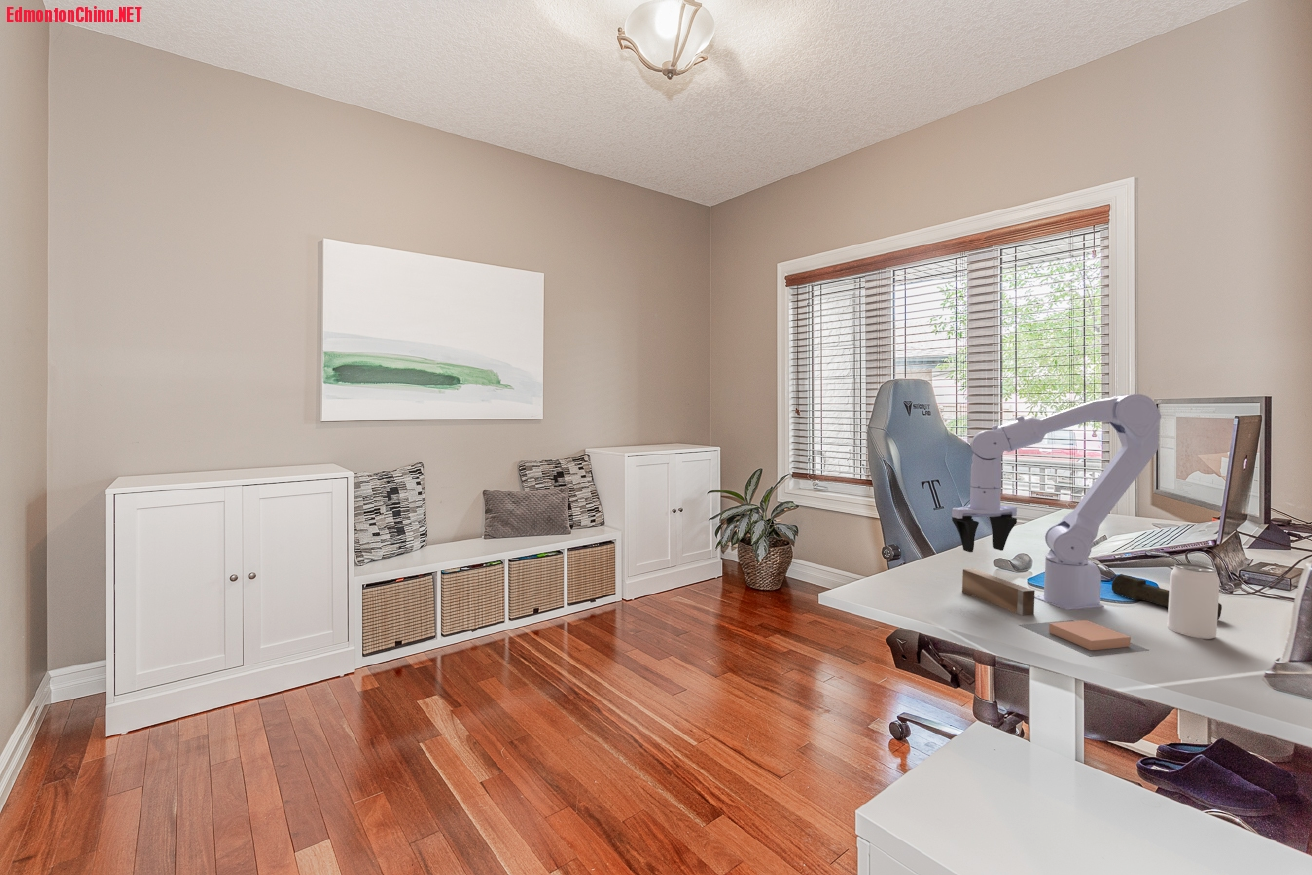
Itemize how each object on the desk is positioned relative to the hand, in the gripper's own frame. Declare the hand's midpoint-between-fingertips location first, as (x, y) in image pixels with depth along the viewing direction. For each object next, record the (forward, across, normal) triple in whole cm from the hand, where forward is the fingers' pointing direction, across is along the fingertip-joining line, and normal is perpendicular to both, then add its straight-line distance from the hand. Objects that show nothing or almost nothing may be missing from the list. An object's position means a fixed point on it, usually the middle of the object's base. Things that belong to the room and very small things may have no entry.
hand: (983, 550), depth 128 cm
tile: (+8, +2, +22) cm, 24 cm away
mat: (+9, +2, +25) cm, 27 cm away
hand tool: (+10, -30, +14) cm, 34 cm away
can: (+10, -20, +27) cm, 35 cm away
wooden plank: (+9, +2, +6) cm, 11 cm away
